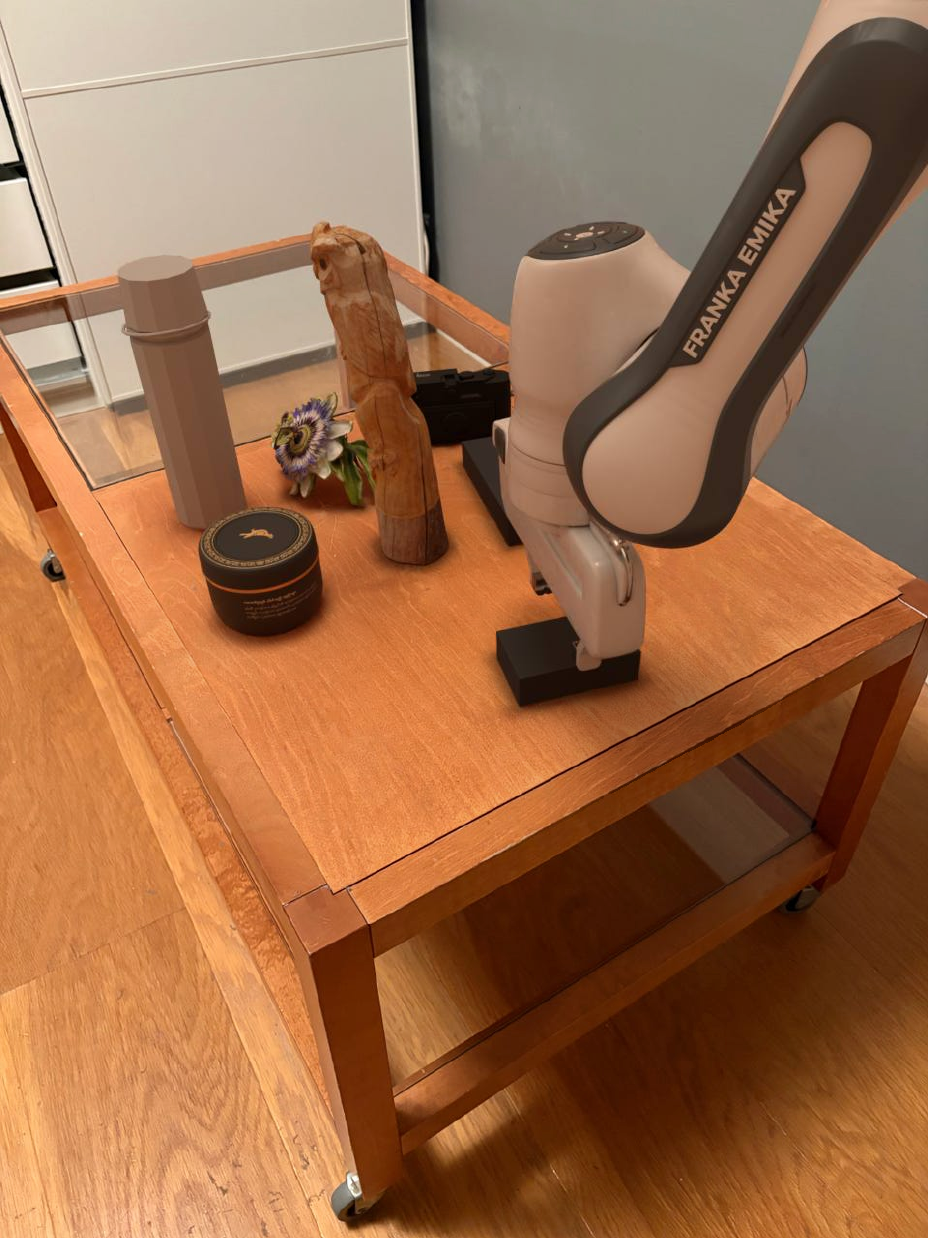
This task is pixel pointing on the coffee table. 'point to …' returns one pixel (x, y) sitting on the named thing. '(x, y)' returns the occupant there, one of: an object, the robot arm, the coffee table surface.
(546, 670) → the black pad
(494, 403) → the camera
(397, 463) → the sculpture
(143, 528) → the coffee table surface
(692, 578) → the coffee table surface
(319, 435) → the passion flower
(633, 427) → the robot arm
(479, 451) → the base pad
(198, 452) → the water bottle
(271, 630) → the jar
